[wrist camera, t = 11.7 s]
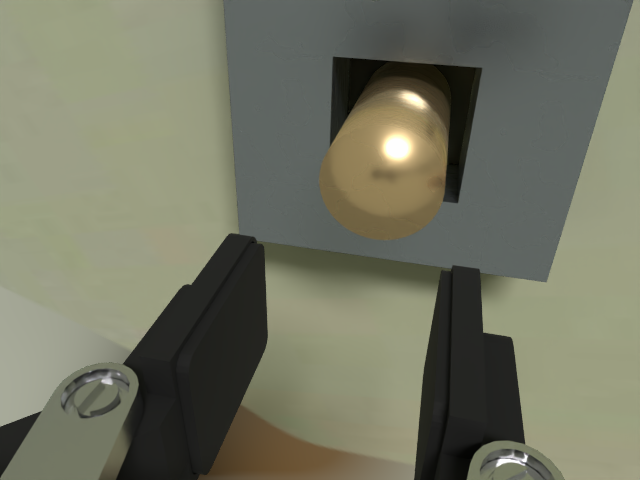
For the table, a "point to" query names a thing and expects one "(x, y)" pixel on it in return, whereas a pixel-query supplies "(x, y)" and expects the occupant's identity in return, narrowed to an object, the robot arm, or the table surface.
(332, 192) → the tan cylinder
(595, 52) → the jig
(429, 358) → the robot arm
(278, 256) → the table surface
